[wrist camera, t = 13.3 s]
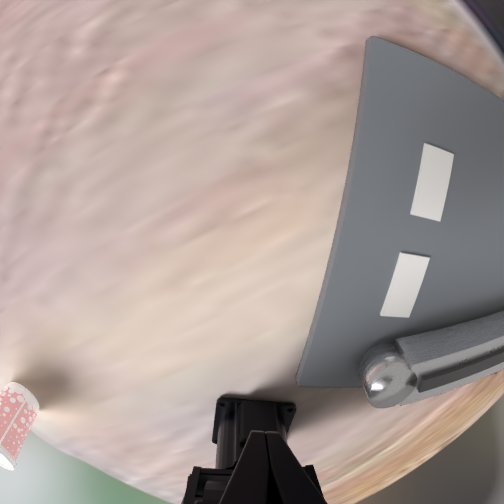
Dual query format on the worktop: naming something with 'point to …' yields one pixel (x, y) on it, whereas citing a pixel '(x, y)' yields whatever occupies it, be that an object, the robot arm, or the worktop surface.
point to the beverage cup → (15, 421)
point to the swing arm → (432, 361)
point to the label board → (411, 214)
